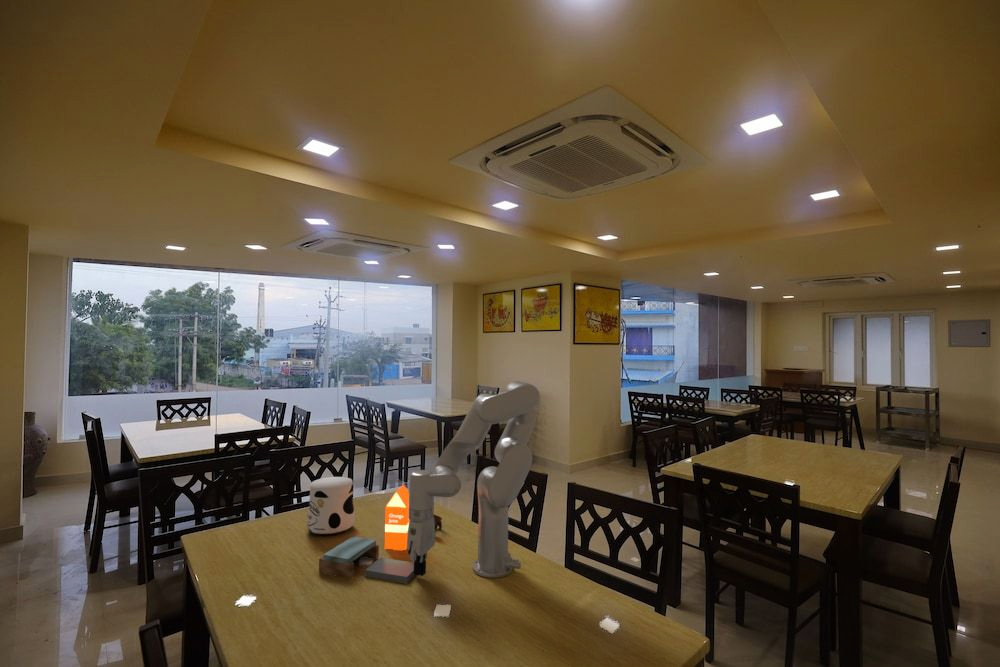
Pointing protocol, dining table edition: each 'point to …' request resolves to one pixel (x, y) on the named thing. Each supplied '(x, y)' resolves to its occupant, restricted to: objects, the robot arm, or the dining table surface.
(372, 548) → the shelf dock
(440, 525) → the pottery mug
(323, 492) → the milk container
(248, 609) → the dining table surface
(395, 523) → the orange juice
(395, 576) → the slate tile
